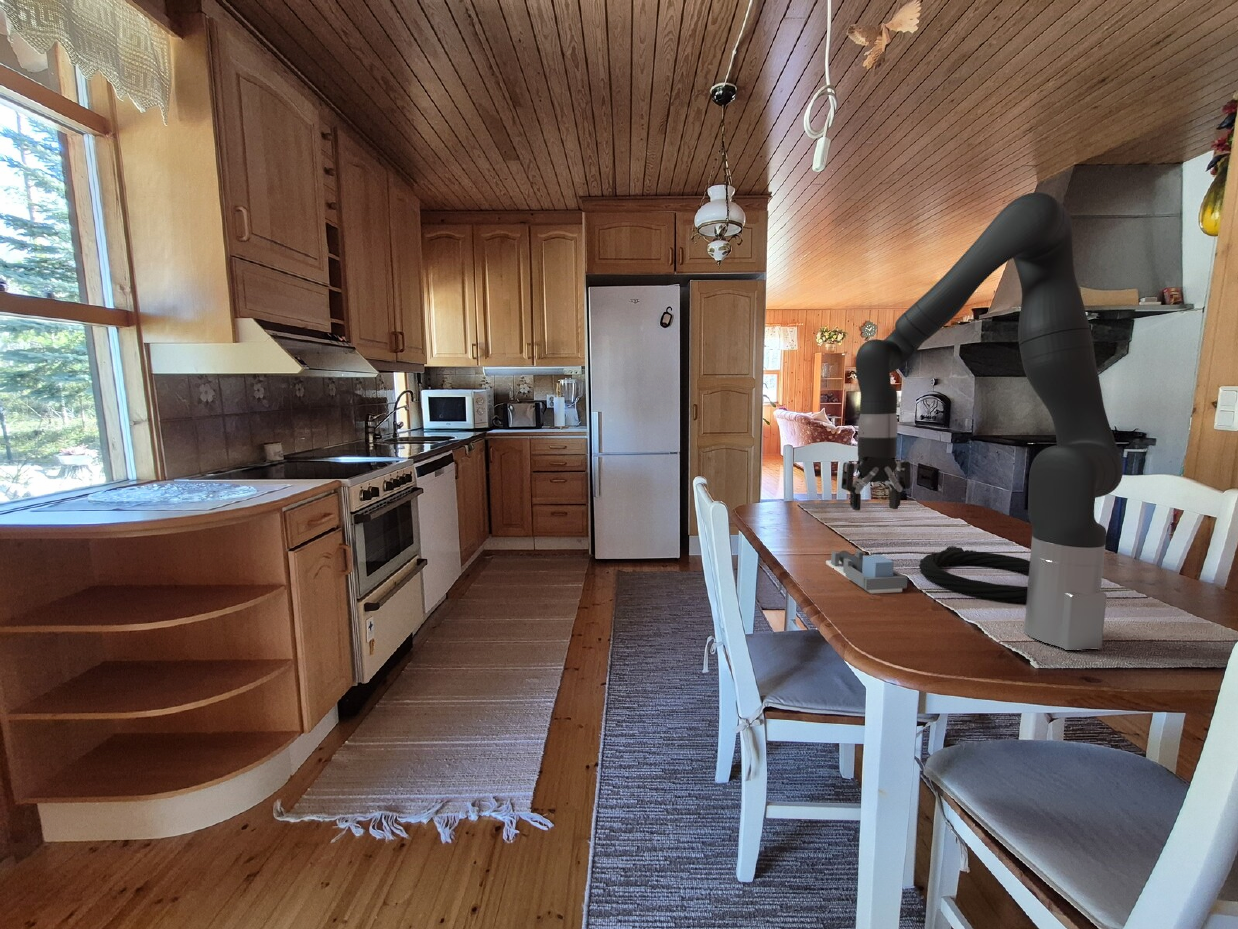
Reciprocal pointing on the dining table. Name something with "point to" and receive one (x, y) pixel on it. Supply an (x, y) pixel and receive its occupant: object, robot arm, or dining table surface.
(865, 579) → the rail
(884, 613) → the dining table surface
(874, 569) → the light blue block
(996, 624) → the dining table surface
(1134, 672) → the dining table surface
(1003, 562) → the cable lock
